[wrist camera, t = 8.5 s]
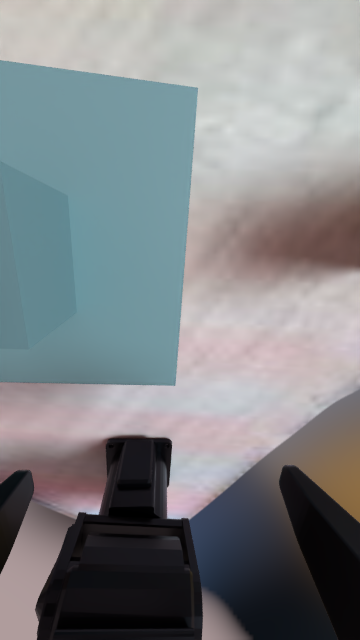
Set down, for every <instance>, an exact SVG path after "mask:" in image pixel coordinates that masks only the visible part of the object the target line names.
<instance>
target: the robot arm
mask: <svg viewBox="0 0 360 640" xmlns="http://www.w3.org/2000/svg"><path fill="white" fill-rule="evenodd" d="M111 444H112V445H111ZM166 444H168V445H166ZM171 452H172V441H171V440H170V439H110V440H108V441H107V444H106V458H107V483H106V487H105V491H104V495H103V499H102V503H101V508H100V512H99V515H92V514H86V513H84V512H79V514H78V517H77V519H76V522H75V524H72V526H71V527H69V528H68V531H67V534H66V537H65V540H64V543H63V545H62V549H61V551H60V554H59V556H58V558H57V561H56V563H55V565H54V567H53V569H52V571H51V573H50V575H49V577H48V579H47V581H46V583H45V585H44V587H43V589H42V591H41V594H40V596H39V598H38V601H37V604H36V609H35V611H36V614H37V618H38V621H39V625H38V631H37V636H38V637H37V640H202V622H203V612H202V592H201V583H200V576H199V570H198V565H197V560H196V555H195V550H194V545H193V540H192V535H191V530H190V525H189V520H188V518H181V519H167V487H168V486H169V478H170V465H171ZM279 486H280V490H281V493H282V496H283V499H284V502H285V505H286V508H287V511H288V514H289V518H290V521H291V524H292V527H293V530H294V533H295V536H296V538H297V541H298V544H299V546H300V549H301V551H302V554H303V556H304V558H305V561H306V563H307V565H308V568H309V570H310V573H311V575H312V577H313V580H314V582H315V585H316V587H317V589H318V592H319V594H320V597H321V599H322V602H323V604H324V606H325V609H326V611H327V614H328V616H329V618H330V621H331V623H332V625H333V628H334V630H335V633H336V635H337V637H338V640H360V523H359V522H358V521H357V520H356V519H354V518H353V517H352V516H351V515H350V514H349V513H348V512H347V511H346V510H344V509H343V508H342V507H341V506H340V505H339V504H338V503H337V502H336V501H335V500H333V499H332V498H331V497H330V496H329V495H328V494H327V493H326V492H324V491H323V490H322V489H321V488H320V487H319V486H318V485H317V484H315V483H314V482H313V481H312V480H311V479H310V478H309V477H308V476H306V474H304V473H303V472H302V471H301V470H300V469H299V468H298V467H296V466H294V465H285V466H283V468H282V472H281V475H280V479H279ZM33 492H34V483H33V478H32V473H31V471H30V470H18V471H16V472H14V473H13V474H12V475H11V476H9V477H8V478H7V479H6V480H5V481H4V482H2V483H1V484H0V574H1V571H2V569H3V567H4V565H5V563H6V561H7V559H8V556H9V554H10V552H11V549H12V547H13V544H14V542H15V539H16V537H17V534H18V531H19V529H20V526H21V524H22V521H23V519H24V516H25V514H26V511H27V508H28V506H29V503H30V501H31V498H32V495H33Z"/></svg>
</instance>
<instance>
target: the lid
mask: <svg viewBox="0 0 360 640" xmlns="http://www.w3.org/2000/svg"><path fill="white" fill-rule="evenodd" d="M197 94H198V88H195V87H188V86H181V85H174V84H167V83H160V82H152V81H145V80H138V79H131V78H124V77H117V76H109V75H102V74H95V73H88V72H81V71H73V70H66V69H59V68H52V67H45V66H38V65H30V64H23V63H16V62H9V61H2V60H0V382H23V383H71V384H120V385H168V386H175V382H176V369H177V356H178V343H179V330H180V317H181V303H182V290H183V277H184V264H185V251H186V238H187V225H188V212H189V198H190V185H191V172H192V159H193V146H194V133H195V120H196V107H197Z"/></svg>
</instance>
